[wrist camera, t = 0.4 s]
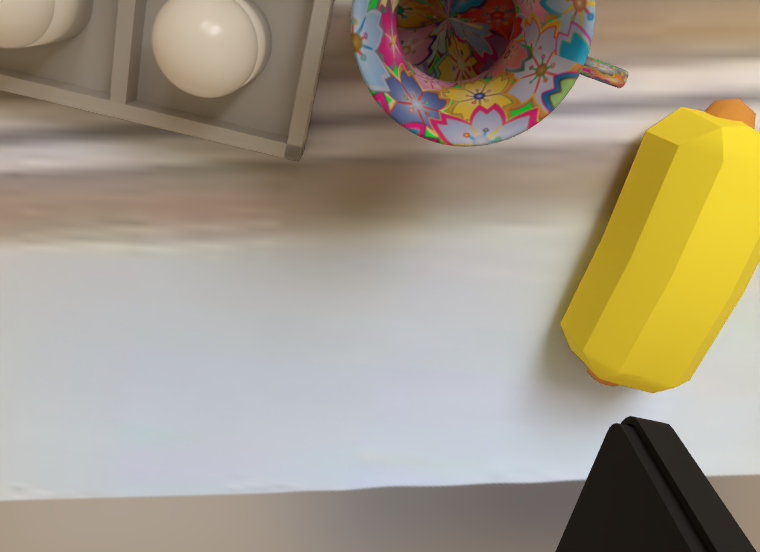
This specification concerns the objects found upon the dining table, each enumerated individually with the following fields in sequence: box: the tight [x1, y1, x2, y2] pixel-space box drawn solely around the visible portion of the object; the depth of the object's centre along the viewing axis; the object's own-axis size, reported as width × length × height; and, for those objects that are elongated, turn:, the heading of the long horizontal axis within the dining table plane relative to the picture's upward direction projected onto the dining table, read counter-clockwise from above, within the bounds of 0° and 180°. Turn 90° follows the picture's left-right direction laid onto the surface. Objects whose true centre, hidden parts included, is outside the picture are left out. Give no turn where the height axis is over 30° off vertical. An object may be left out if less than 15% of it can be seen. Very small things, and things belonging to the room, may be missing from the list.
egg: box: [151, 0, 272, 98], centre depth 32 cm, size 5×5×7 cm
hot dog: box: [560, 98, 760, 393], centre depth 37 cm, size 18×7×8 cm
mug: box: [351, 0, 628, 147], centre depth 31 cm, size 12×9×11 cm
